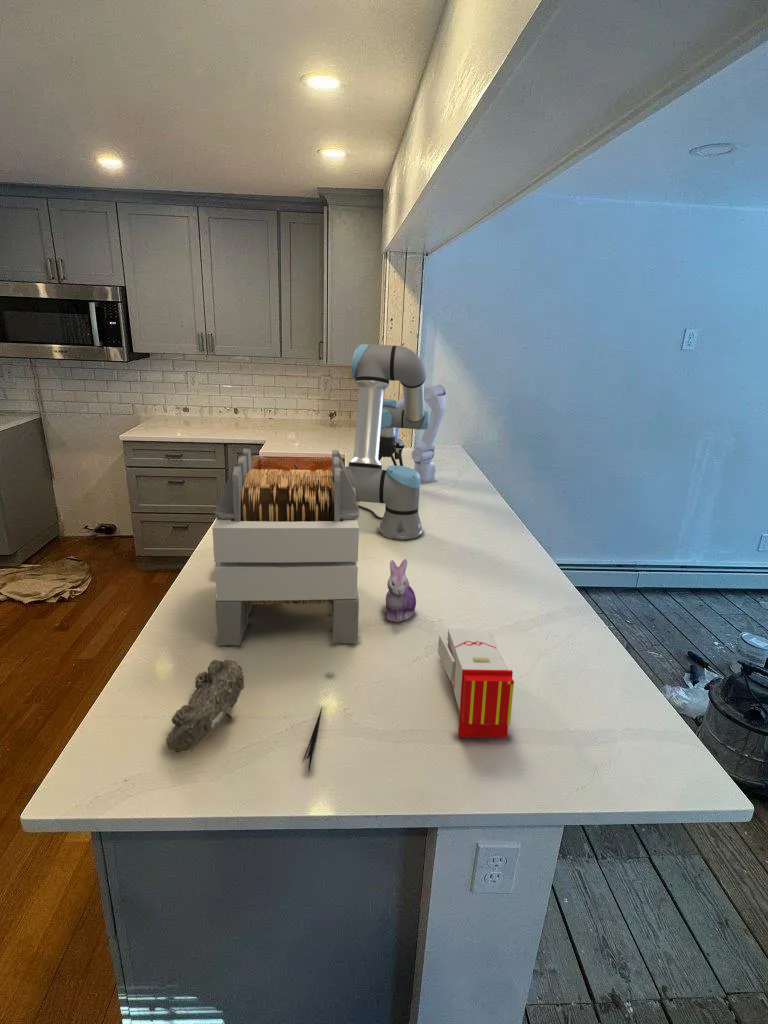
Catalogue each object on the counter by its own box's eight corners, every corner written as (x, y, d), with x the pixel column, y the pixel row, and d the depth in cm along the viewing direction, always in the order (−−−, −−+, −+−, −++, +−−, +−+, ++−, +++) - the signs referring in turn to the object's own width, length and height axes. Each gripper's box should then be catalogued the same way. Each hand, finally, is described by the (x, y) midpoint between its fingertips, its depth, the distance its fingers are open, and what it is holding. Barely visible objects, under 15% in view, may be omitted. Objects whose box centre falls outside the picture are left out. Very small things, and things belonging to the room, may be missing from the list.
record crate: (235, 580, 161) (228, 439, 147) (350, 579, 165) (354, 441, 151) (215, 647, 129) (204, 476, 115) (358, 644, 133) (363, 478, 119)
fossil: (192, 660, 117) (244, 628, 112) (224, 691, 120) (276, 661, 115) (142, 746, 98) (202, 712, 93) (182, 779, 101) (242, 748, 96)
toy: (488, 613, 130) (523, 677, 101) (484, 667, 133) (517, 744, 104) (435, 612, 130) (455, 676, 101) (432, 666, 133) (451, 743, 103)
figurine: (392, 627, 141) (395, 572, 136) (374, 608, 149) (376, 556, 144) (425, 619, 145) (429, 566, 140) (405, 601, 154) (408, 550, 149)
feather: (331, 679, 122) (336, 673, 122) (307, 777, 96) (313, 769, 95) (324, 675, 122) (329, 669, 121) (298, 772, 95) (304, 764, 95)
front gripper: (410, 434, 249) (407, 483, 257) (361, 433, 247) (360, 482, 255) (412, 438, 242) (409, 488, 250) (362, 437, 240) (361, 488, 248)
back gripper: (378, 427, 272) (377, 454, 277) (395, 433, 261) (394, 461, 266) (390, 426, 276) (388, 453, 281) (408, 431, 265) (406, 460, 270)
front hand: (384, 485), depth 252 cm, fingers open, 9 cm apart
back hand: (392, 457), depth 274 cm, fingers open, 7 cm apart
